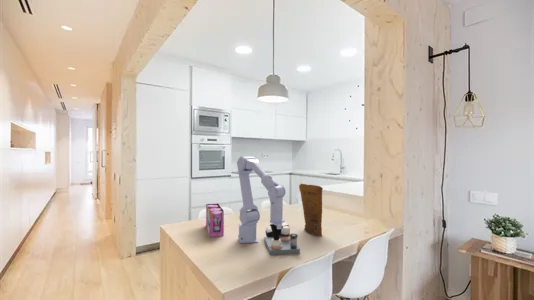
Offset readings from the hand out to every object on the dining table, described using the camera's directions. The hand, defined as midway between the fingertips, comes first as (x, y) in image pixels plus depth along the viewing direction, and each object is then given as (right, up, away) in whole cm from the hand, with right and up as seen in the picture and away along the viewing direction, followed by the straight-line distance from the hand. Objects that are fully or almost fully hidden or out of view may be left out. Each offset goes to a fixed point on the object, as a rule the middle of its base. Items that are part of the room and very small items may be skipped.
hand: (276, 240), depth 124 cm
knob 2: (+5, 0, +11) cm, 12 cm away
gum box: (-35, -5, +30) cm, 47 cm away
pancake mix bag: (+22, -6, +29) cm, 37 cm away
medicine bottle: (+7, -1, +21) cm, 22 cm away
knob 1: (0, -3, 0) cm, 3 cm away
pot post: (+8, -3, -1) cm, 9 cm away
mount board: (+3, -5, +6) cm, 8 cm away
